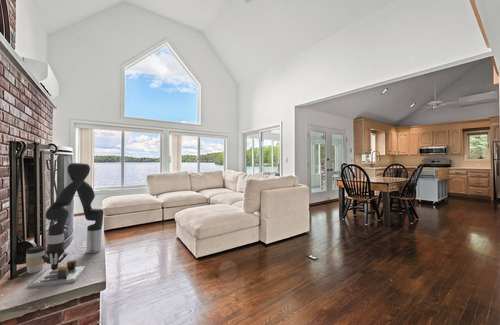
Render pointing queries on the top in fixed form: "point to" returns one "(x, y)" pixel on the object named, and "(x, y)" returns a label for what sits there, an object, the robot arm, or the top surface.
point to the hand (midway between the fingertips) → (54, 269)
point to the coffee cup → (34, 258)
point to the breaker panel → (66, 280)
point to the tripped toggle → (61, 267)
